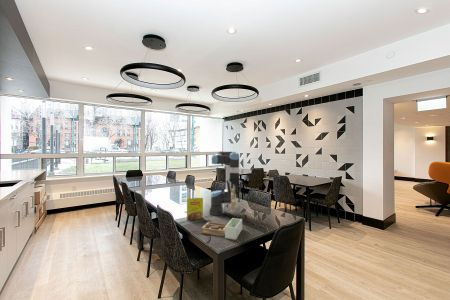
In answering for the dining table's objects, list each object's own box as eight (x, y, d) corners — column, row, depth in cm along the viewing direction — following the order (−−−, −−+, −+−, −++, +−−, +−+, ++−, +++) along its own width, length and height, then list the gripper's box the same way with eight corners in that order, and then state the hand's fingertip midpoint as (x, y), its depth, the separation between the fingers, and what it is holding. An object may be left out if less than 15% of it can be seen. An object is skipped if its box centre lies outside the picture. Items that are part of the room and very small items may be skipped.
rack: (208, 226, 187) (208, 221, 187) (228, 228, 181) (229, 224, 181) (201, 233, 172) (201, 228, 172) (223, 236, 166) (223, 231, 166)
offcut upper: (211, 228, 178) (211, 225, 178) (218, 228, 177) (218, 226, 177) (210, 229, 174) (210, 227, 174) (218, 230, 174) (218, 227, 173)
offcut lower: (210, 230, 179) (210, 227, 179) (221, 231, 177) (221, 228, 177) (208, 232, 174) (208, 229, 174) (219, 233, 172) (219, 230, 172)
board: (230, 211, 166) (230, 188, 165) (234, 207, 177) (235, 186, 177) (233, 212, 165) (233, 188, 165) (237, 207, 176) (237, 186, 176)
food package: (187, 219, 203) (187, 198, 203) (186, 219, 204) (187, 198, 204) (202, 218, 207) (203, 197, 207) (202, 217, 208) (202, 197, 208)
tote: (232, 228, 183) (232, 218, 182) (242, 229, 180) (242, 219, 180) (224, 238, 163) (225, 226, 163) (235, 239, 160) (235, 228, 160)
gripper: (223, 172, 169) (223, 202, 170) (242, 173, 165) (242, 203, 165) (226, 171, 176) (226, 199, 177) (244, 172, 172) (244, 201, 172)
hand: (234, 201), depth 171 cm, fingers closed on board, 2 cm apart
